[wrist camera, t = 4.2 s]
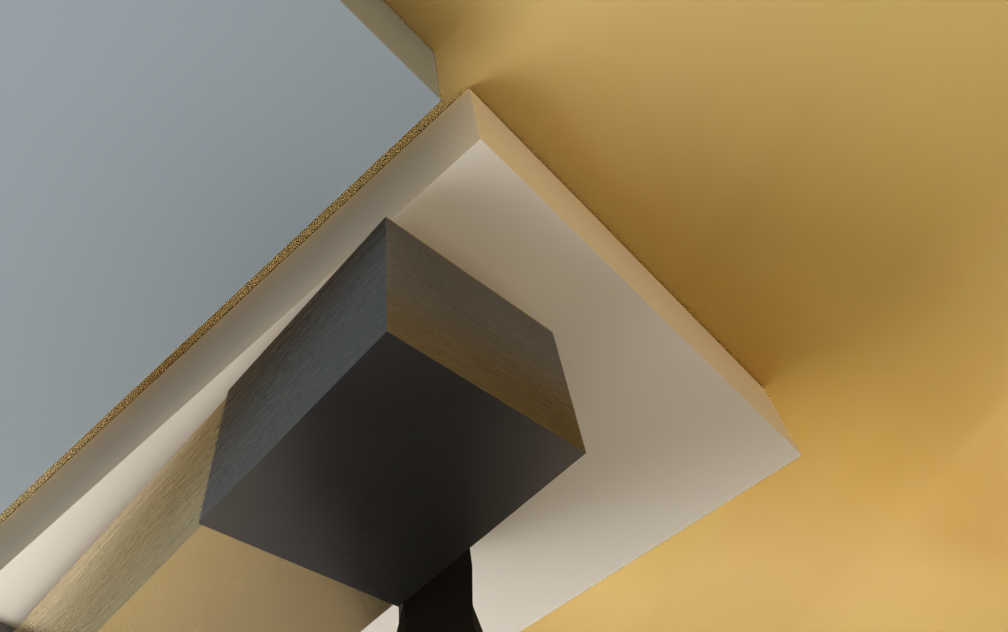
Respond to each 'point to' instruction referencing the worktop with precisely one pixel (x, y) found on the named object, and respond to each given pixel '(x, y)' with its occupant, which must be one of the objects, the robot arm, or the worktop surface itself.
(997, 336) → the worktop surface
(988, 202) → the worktop surface
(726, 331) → the worktop surface
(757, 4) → the worktop surface
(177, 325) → the door panel
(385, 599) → the swing bar
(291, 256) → the jamb plate
